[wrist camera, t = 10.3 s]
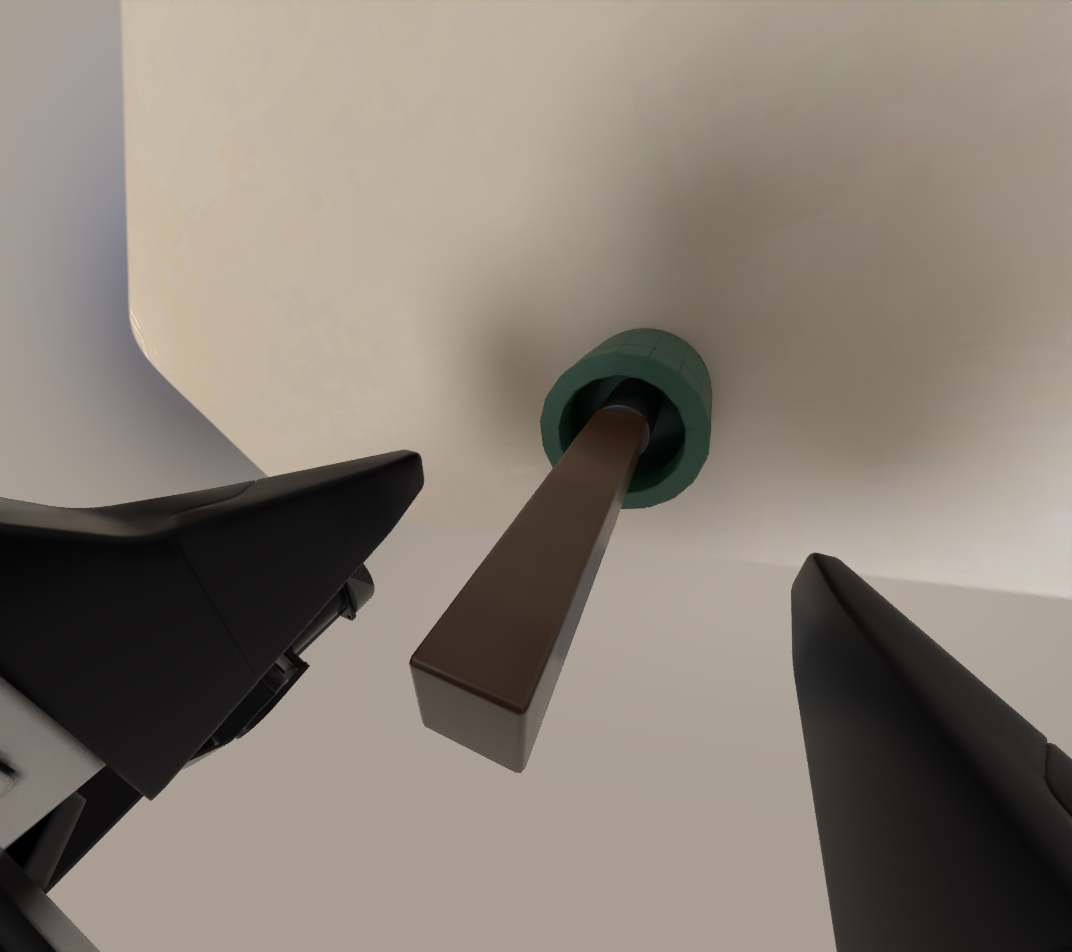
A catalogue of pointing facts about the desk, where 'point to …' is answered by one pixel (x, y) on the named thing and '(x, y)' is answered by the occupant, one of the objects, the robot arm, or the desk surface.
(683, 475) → the green round lever base
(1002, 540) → the desk surface
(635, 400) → the brown lever handle
